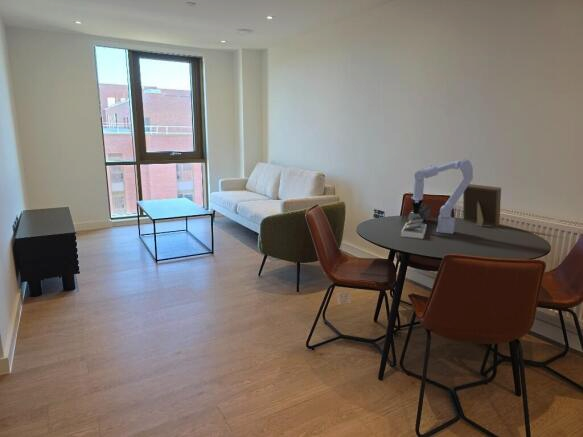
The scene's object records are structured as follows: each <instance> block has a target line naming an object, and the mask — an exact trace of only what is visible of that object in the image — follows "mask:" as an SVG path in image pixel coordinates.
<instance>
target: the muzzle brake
mask: <svg viewBox="0 0 583 437" xmlns="http://www.w3.org/2000/svg"><path fill="white" fill-rule="evenodd" d="M430 214H431V207H429V206H428V205H427V204H421V206H420V209H419V212H418V214H414V209H412V210H411V211H410V212H408V214H407V222H409V221H411V220H417V219H423V221H424V220H425V219H426V218H428V217H429V215H430Z"/></svg>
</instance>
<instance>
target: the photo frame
mask: <svg viewBox="0 0 583 437" xmlns="http://www.w3.org/2000/svg"><path fill="white" fill-rule="evenodd" d="M462 195H463V197H462V198H463V201H462V202H463V203H462V204H463V207H462V208H463V211H462V212H463V215H462V216H463V217H462V221H466V222H472V223H476V222H477V223H476V225H477V226H479V227H482V228H483V225H487V224H489V226H493V225H498V226H499V225H500V222H501V199H502V198H501V197H502V187H498V186H491V185H490V186H489V185H483V184H481V185H480V184H473V183H472V184H471V183H470V184H469V185H468V186H467V188H466V189H465V191H464V192H463V194H462ZM483 223H484V224H483Z"/></svg>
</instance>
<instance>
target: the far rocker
mask: <svg viewBox="0 0 583 437" xmlns="http://www.w3.org/2000/svg"><path fill="white" fill-rule="evenodd" d="M423 221H424V220H423V219H417V220H411V221H407V222H408V225H410V224H415V223H420V222H421V224H422V223H423Z"/></svg>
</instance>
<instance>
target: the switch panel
mask: <svg viewBox="0 0 583 437" xmlns="http://www.w3.org/2000/svg"><path fill="white" fill-rule="evenodd" d="M408 222H409V221H407V222H405V224H404V226H403V228H402V229H401V231H400V237H402V238H403V237H404V238H410V239H411V238H412V239H422V240H423V239H424V238H425V234H426V232H427V231H426V230H427V224H426V223H423V222H422V224H421V227H420V228H417V229H412V230H405V228H406V226H407V225H408Z"/></svg>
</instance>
